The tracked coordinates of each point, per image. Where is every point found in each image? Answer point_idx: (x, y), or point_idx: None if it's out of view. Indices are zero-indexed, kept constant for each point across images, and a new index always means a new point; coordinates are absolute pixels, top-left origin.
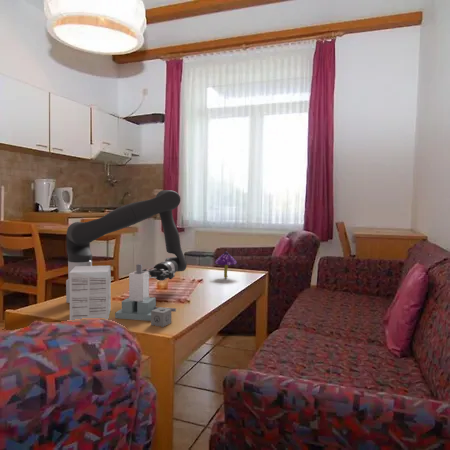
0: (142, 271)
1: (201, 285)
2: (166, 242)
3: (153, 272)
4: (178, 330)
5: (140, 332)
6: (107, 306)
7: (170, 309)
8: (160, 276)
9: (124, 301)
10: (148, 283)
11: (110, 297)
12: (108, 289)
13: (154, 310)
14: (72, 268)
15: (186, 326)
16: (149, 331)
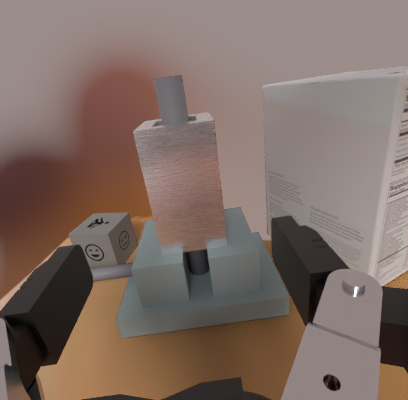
0: (171, 126)
1: None
2: None
3: (218, 386)
4: (67, 243)
5: (149, 217)
6: (266, 199)
7: (71, 232)
8: (77, 251)
9: (230, 209)
10: (148, 190)
11: (354, 239)
12: (270, 153)
13: (119, 216)
14: None
15: (41, 263)
16: (132, 224)
